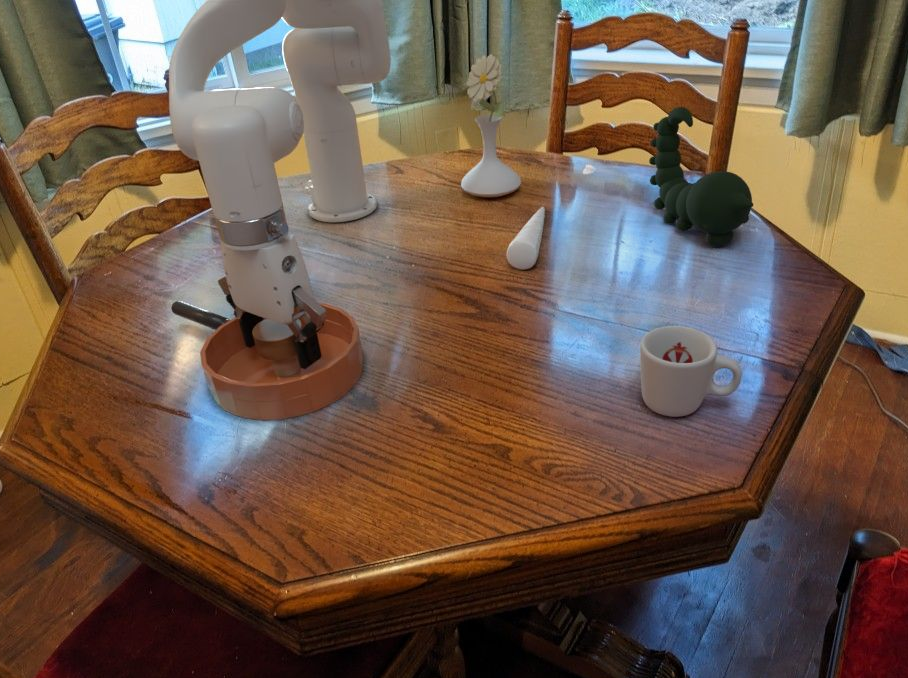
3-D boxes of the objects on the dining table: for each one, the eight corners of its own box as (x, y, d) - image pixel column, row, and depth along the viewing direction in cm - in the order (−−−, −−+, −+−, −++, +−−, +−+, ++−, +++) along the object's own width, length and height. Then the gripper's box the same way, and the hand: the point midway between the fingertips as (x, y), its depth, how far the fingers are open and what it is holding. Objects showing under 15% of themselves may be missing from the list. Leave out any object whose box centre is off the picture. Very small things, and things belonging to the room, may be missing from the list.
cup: (735, 391, 84) (747, 332, 79) (732, 434, 78) (745, 373, 73) (639, 378, 87) (645, 320, 82) (630, 419, 81) (635, 359, 76)
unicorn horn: (564, 210, 129) (565, 184, 126) (536, 272, 111) (536, 243, 108) (538, 209, 130) (538, 183, 128) (505, 270, 112) (505, 241, 109)
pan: (179, 389, 91) (167, 356, 89) (288, 320, 104) (281, 289, 101) (287, 439, 82) (278, 404, 79) (393, 356, 94) (389, 323, 92)
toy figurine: (633, 218, 128) (718, 265, 108) (637, 106, 119) (731, 133, 98) (680, 209, 130) (773, 253, 110) (688, 98, 121) (791, 123, 100)
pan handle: (170, 315, 101) (166, 303, 100) (182, 309, 102) (178, 297, 101) (228, 338, 95) (224, 325, 94) (240, 331, 96) (236, 318, 95)
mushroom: (253, 375, 92) (241, 333, 89) (287, 352, 96) (277, 310, 92) (287, 389, 89) (276, 346, 86) (320, 365, 93) (311, 322, 89)
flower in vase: (455, 185, 143) (445, 48, 128) (511, 177, 144) (507, 40, 130) (472, 210, 132) (464, 63, 118) (532, 200, 134) (531, 55, 120)
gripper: (332, 226, 79) (355, 356, 89) (226, 199, 88) (258, 321, 98) (282, 253, 75) (312, 388, 85) (175, 222, 83) (214, 348, 93)
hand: (283, 352), depth 91 cm, fingers open, 9 cm apart
